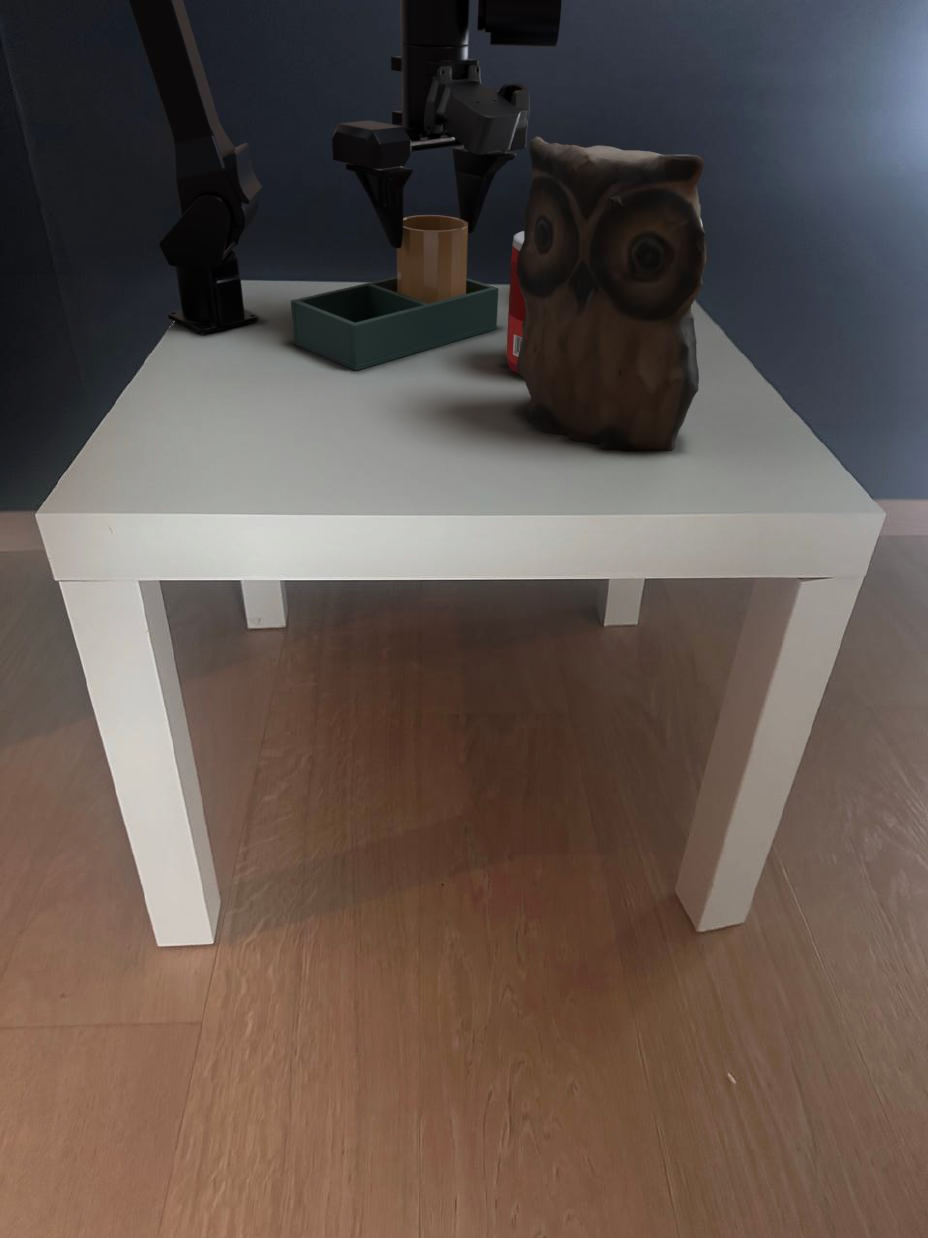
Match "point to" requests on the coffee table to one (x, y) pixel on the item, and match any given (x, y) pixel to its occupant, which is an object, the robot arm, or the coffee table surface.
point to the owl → (610, 293)
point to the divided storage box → (388, 321)
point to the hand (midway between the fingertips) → (433, 239)
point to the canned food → (515, 307)
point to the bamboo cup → (432, 258)
